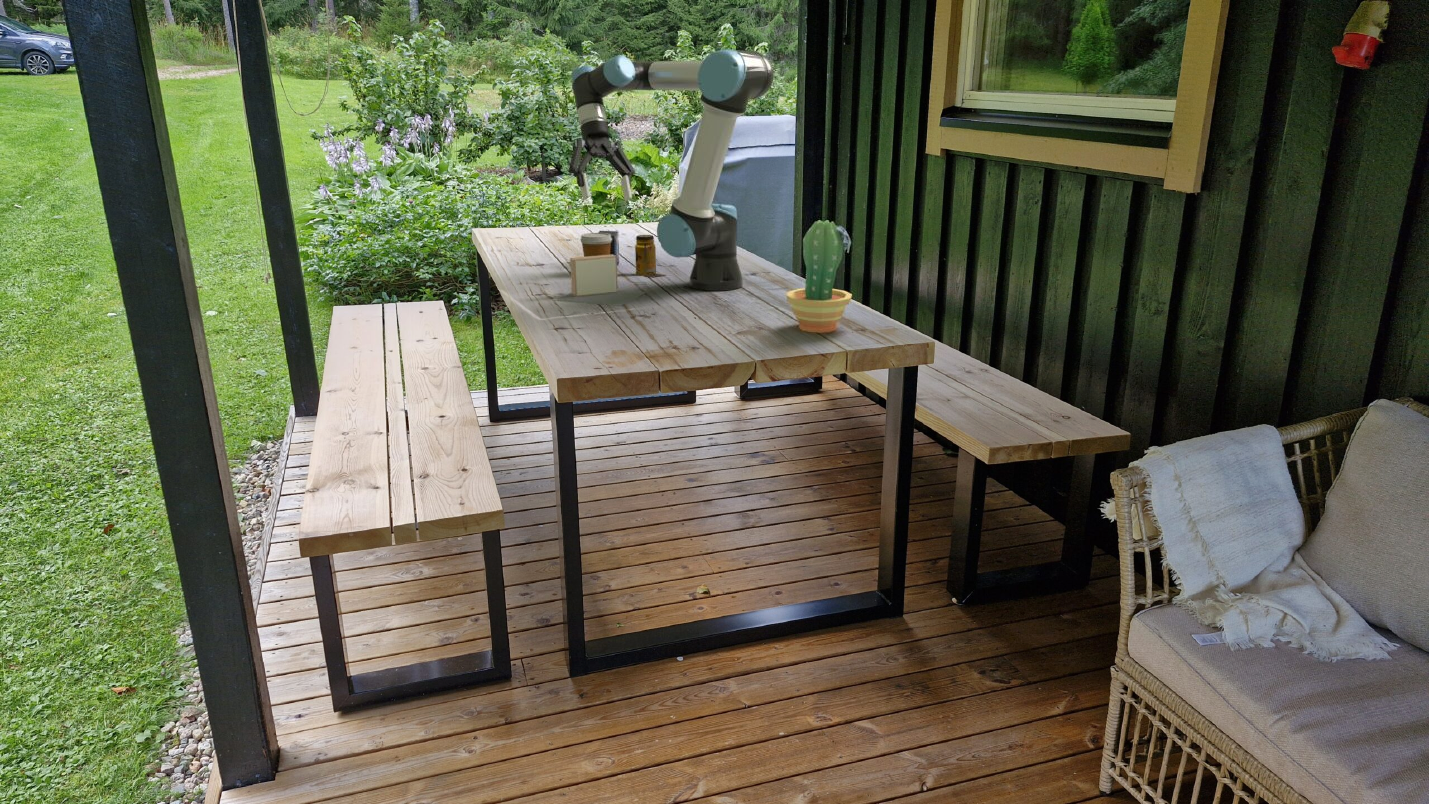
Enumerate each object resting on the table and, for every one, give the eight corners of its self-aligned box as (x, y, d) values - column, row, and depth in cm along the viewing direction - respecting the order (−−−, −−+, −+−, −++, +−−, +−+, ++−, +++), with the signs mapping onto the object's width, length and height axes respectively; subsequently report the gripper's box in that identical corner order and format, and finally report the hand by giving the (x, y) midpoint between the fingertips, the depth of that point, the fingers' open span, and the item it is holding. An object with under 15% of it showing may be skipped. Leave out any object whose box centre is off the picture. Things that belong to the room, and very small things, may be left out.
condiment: (630, 275, 278) (629, 235, 274) (653, 272, 283) (652, 232, 279) (643, 279, 272) (642, 238, 268) (667, 275, 277) (666, 235, 273)
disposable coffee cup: (611, 278, 274) (610, 237, 270) (579, 278, 274) (577, 237, 270) (615, 271, 283) (613, 232, 279) (584, 271, 283) (582, 232, 279)
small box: (616, 269, 287) (615, 235, 283) (595, 269, 287) (594, 235, 284) (620, 263, 297) (619, 230, 293) (600, 263, 297) (598, 230, 294)
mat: (646, 294, 252) (646, 292, 252) (620, 308, 237) (620, 305, 237) (583, 290, 258) (583, 287, 258) (554, 302, 243) (554, 300, 242)
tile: (572, 294, 249) (570, 258, 246) (613, 290, 254) (612, 254, 251) (575, 297, 246) (573, 260, 243) (618, 292, 251) (616, 256, 248)
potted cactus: (836, 339, 208) (840, 227, 200) (774, 331, 215) (776, 222, 207) (860, 324, 220) (865, 219, 212) (801, 317, 228) (804, 214, 219)
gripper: (623, 133, 264) (637, 204, 263) (547, 126, 249) (561, 202, 247) (638, 122, 259) (652, 195, 257) (560, 115, 243) (575, 192, 242)
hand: (607, 199), depth 252 cm, fingers open, 13 cm apart
